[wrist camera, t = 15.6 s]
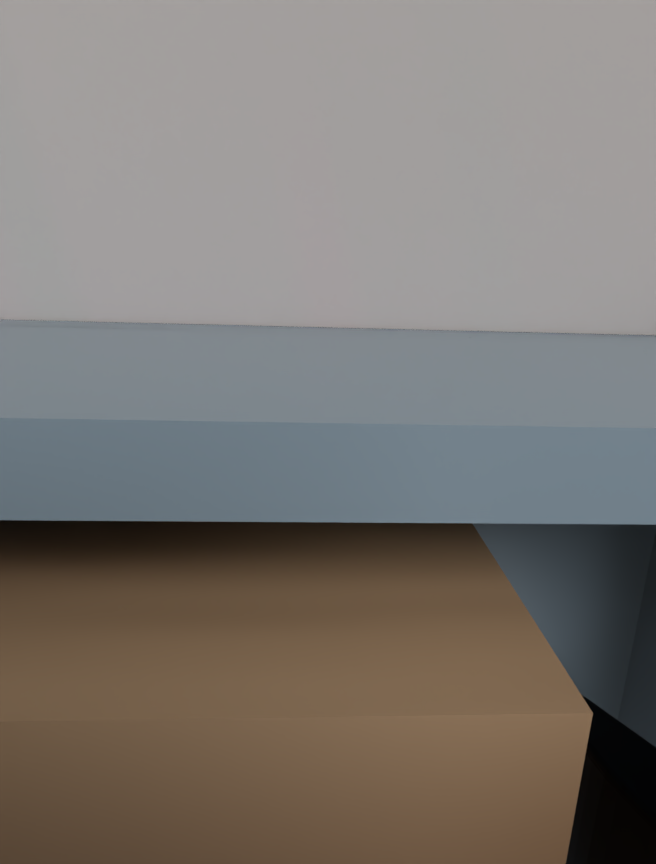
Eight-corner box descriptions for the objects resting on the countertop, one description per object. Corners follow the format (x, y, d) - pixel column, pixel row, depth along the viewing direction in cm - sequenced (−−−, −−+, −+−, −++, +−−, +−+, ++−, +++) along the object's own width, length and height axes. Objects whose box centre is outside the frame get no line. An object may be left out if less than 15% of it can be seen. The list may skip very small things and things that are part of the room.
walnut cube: (406, 743, 10) (506, 1191, 5) (97, 747, 10) (-93, 1225, 5) (428, 454, 9) (593, 713, 4) (67, 451, 8) (-239, 724, 4)
